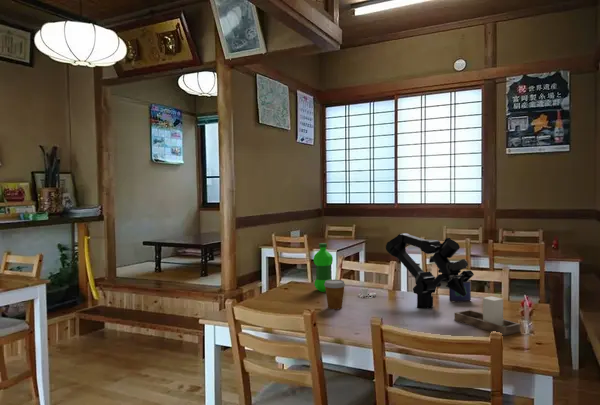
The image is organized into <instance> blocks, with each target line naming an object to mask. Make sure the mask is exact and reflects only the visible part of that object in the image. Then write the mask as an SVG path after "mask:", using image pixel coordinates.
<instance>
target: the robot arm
mask: <svg viewBox="0 0 600 405" xmlns="http://www.w3.org/2000/svg"><path fill="white" fill-rule="evenodd" d="M408 245H409V246H414V247H416V248H418V249H420V251H421V252H423V253H424V254H426V255H431V256H430V257H429V258H430V259H429V261H428V263H435V265H436V267H437V268H438V270H437V272H438V273H439V274H437V275H436V276H435V275H434V274H432V272H431V271H424V270H423V269H422V268H421V267H420V265H419V264H417V262H416V261H415V260H414V259H413V258H412V256H410V254H409V253H407V250H406V249H407V248H406V246H408ZM459 250H460V245H459V243H458V242H457V241H455V240H453V239H451V237H446V238H444V240H443V242H442V243H441V241H440V240H437V239H424V238H422V237H418V236H415V235H413V234H412V235H411V234H410V233H407V232H404V233H399V234H397V236H395V237H394V238H392V239H390V240H389V241H388V242H386V244H385V251H386V252H387V253H388V254H390V256H392V257H395V258H397V259H398V260H399V261H400V262H401V264H402V265H403V266H404V268H406V269H407V270H408V272H409V273H410V274H411V275H412V276H413V278H414V280H415V282H414V283H415V286H414V287H413V288H412V290H413V293H414V294H416V298H417V299H416V302H417V303H416V308H419V309H432V308H433V306H434V296H433V294H434V293H436V291H437V288H440V287H441V286H442V283H445V282H446V285H445V287H446V288H448V289H449V288H450V289H452V290H454V291H456V292H457V293H459V294H460V295H462V296H465V295H466V292H465V288H464V284H463V283H465V282H467V281H470V280H471V278H472V277H473V276H474V275H475V274H474V272H473V271H472V270H470V269H467V268H468V265H469V264H468V261H467V260H466V259H465V258H464V259H460V260H458V261H455V262H453V261H450V259H451V258H452V257H453V256H455V254H456V253H457V252H458V251H459ZM432 254H433V255H432ZM464 269H467V270H464ZM461 270H463V271H461Z"/></svg>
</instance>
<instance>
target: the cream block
mask: <svg viewBox="0 0 600 405" xmlns="http://www.w3.org/2000/svg"><path fill="white" fill-rule="evenodd" d="M482 313H483V321H487V322H490V323H493V324H497V325H500V326H502V325H503V319H504V298H501V297H497V296H487V297H486V296H485V297H482Z"/></svg>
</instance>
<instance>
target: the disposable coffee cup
mask: <svg viewBox="0 0 600 405" xmlns="http://www.w3.org/2000/svg"><path fill="white" fill-rule="evenodd" d="M324 285H325V289H326V292H325V294H326V295H325V296H326V301H327V302H326V303H327V309H330V310H340V309H342V308H343V302H344V301H343V300H344V293H345V291H344V290H345V286H346V283H345V281H344V280H342V279H331V280H326V281H325V284H324Z"/></svg>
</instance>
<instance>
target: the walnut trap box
mask: <svg viewBox="0 0 600 405" xmlns="http://www.w3.org/2000/svg"><path fill="white" fill-rule="evenodd" d="M453 320H454V321H456V322H459V323H463V324H465V325H469V326H472V327H475V328H478V329H481V330H484V331H488V332H490V331H496V332H500V333H502V334H503V335H502V336H503V337H506V336H509V335H510V336H511V335H514V334H518V333H521V332H522V331H521V329H522V328H521V327H522V326H521V323H519V322H514V321H513V320H512V321H511V320H508V319H506V318H503V325H502V326H500V325H497V324H493V323H490V322H487V321H483V312H480V311H476V310H473V309H467V310H465V309H464V310H462V311H456V312H454V319H453Z"/></svg>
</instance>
